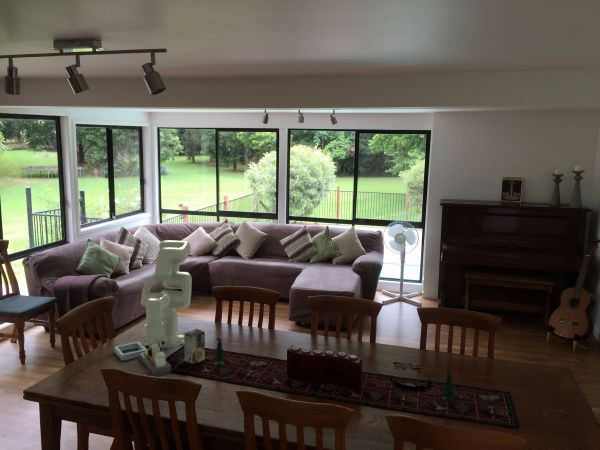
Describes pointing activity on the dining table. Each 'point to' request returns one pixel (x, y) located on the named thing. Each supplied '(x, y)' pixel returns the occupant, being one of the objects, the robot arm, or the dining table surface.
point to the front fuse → (159, 359)
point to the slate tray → (128, 347)
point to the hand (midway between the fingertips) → (154, 355)
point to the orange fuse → (154, 350)
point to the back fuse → (147, 351)
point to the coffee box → (194, 346)
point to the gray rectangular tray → (152, 365)
